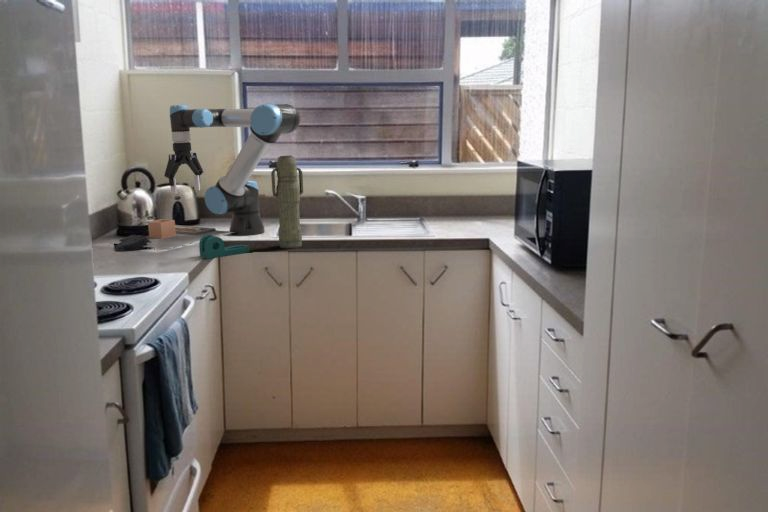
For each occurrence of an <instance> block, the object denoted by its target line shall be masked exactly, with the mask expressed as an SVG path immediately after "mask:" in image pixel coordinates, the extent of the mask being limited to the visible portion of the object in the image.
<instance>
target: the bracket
mask: <svg viewBox="0 0 768 512" xmlns="http://www.w3.org/2000/svg"><path fill="white" fill-rule="evenodd" d="M198 248H199V257H201V258H204V259H207V260H212V259H217V258H224V257H229V256H235V255H243V254H247V253H250V246H249V245H246V244H238V245H230V246H225V242H224V240H223V238H221V237H219V236H215V235H212V234H205V235H203V236H202V237H200V240H199V242H198Z"/></svg>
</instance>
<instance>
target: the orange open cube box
mask: <svg viewBox="0 0 768 512" xmlns="http://www.w3.org/2000/svg"><path fill="white" fill-rule="evenodd" d="M175 221H176V220H175V219H166V218H165V219H164V218H163V219H162V218H161V219H157V220H155V219H154V220H150V221H147V226H148V237H149V238H155V239H165V238H166V239H167V238H170V237H174V236H177V233H176V230H175V225H176V222H175Z"/></svg>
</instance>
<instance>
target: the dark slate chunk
mask: <svg viewBox="0 0 768 512" xmlns="http://www.w3.org/2000/svg"><path fill="white" fill-rule="evenodd" d="M119 241H120V242H119V243H113V247H114V250H115V252H119V253H124V252H136V251H146V250H151V249H153V247H152V246H151V247H150V246H148V245H149V243H151V241H150V239H149V238H147V236H144V235H142V234H139V235H137V234H130V235H128V236H126V237H123V238H121V239H119Z"/></svg>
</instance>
